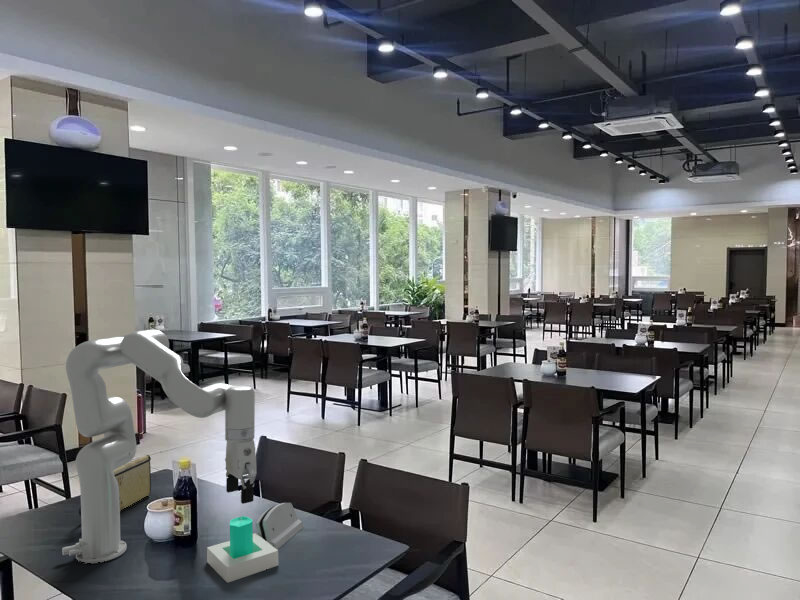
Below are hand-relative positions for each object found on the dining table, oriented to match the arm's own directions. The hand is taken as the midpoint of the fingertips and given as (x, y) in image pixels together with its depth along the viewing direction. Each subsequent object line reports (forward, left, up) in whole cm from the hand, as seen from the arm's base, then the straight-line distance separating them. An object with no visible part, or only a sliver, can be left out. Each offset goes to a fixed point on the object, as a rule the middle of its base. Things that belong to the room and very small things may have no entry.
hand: (239, 496), depth 153 cm
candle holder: (0, 0, -18) cm, 18 cm away
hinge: (+16, +9, -19) cm, 26 cm away
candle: (0, 0, -17) cm, 17 cm away
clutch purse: (-17, +62, -18) cm, 67 cm away
